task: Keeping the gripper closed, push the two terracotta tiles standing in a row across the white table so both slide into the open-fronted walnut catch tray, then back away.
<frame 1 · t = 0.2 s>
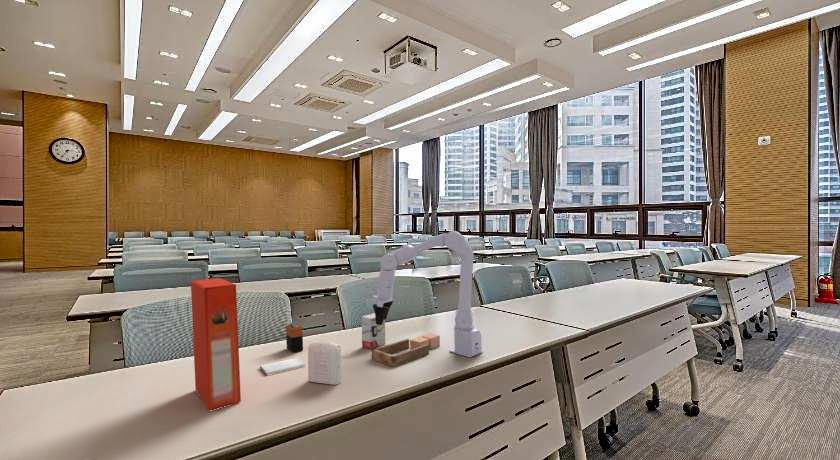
hand: (381, 321, 148), 11 cm above the table, tool pointing down, fingers open, 7 cm apart
tile front: (419, 350, 148), on the table
battery: (294, 350, 150), on the table
ink box: (373, 346, 154), on the table
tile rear: (430, 346, 152), on the table
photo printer: (325, 382, 120), on the table
catch tray: (402, 355, 141), on the table
file binder: (216, 397, 111), on the table
hard drive: (282, 369, 132), on the table
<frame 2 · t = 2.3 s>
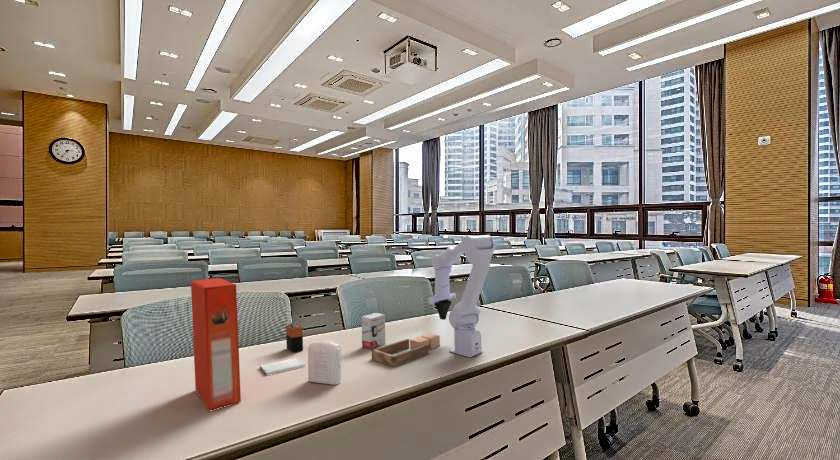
hand: (442, 319, 157), 9 cm above the table, tool pointing down, fingers closed
nothing on the table moved.
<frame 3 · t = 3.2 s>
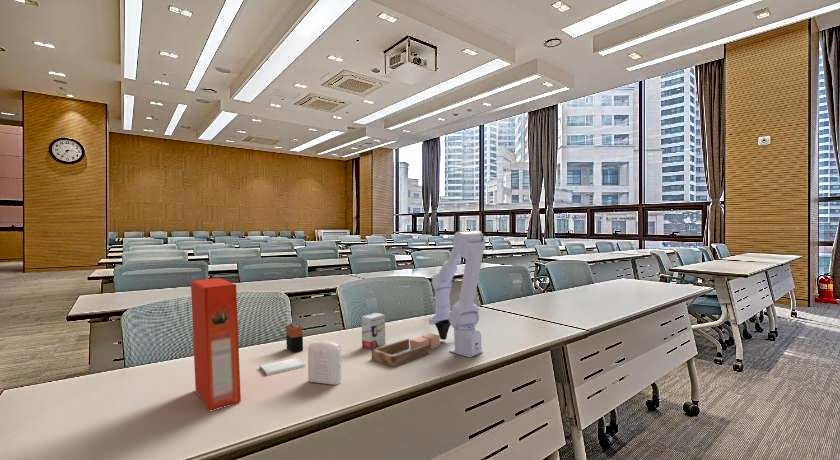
hand: (443, 339, 157), 1 cm above the table, tool pointing down, fingers closed
nothing on the table moved.
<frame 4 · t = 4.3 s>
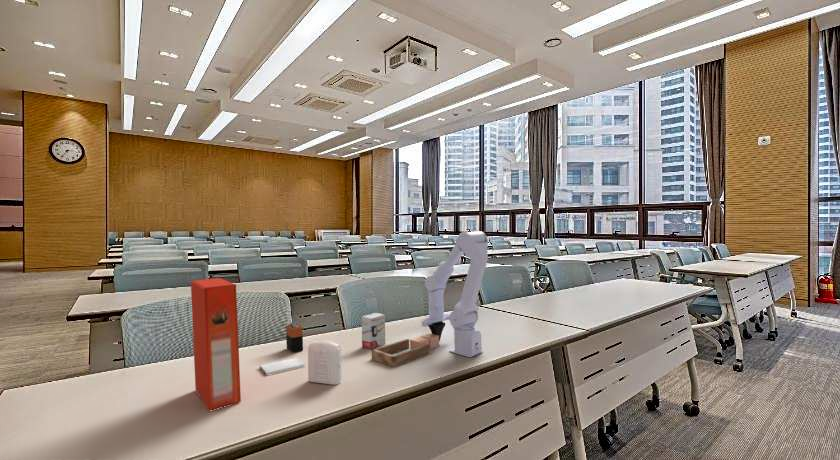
hand: (436, 341, 155), 1 cm above the table, tool pointing down, fingers closed
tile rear: (429, 346, 152), on the table, touching gripper
everything else where it was.
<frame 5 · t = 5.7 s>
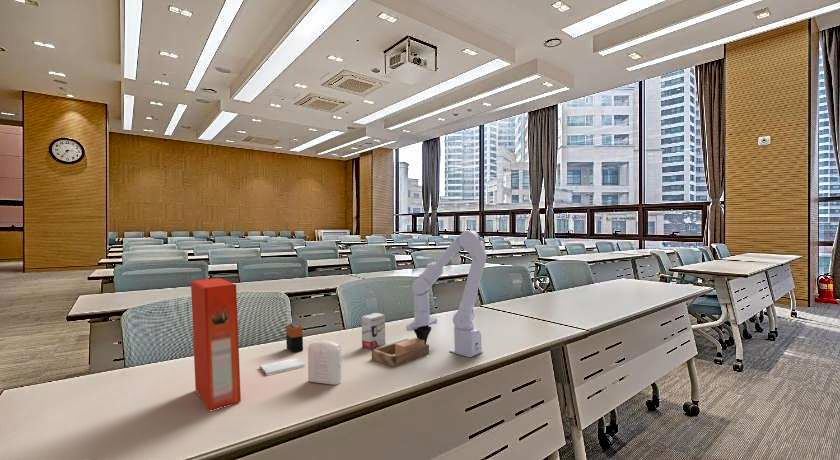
hand: (422, 346, 149), 1 cm above the table, tool pointing down, fingers closed
tile front: (405, 354, 142), resting in catch tray
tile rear: (415, 351, 146), resting in catch tray, touching gripper
everything else where it was.
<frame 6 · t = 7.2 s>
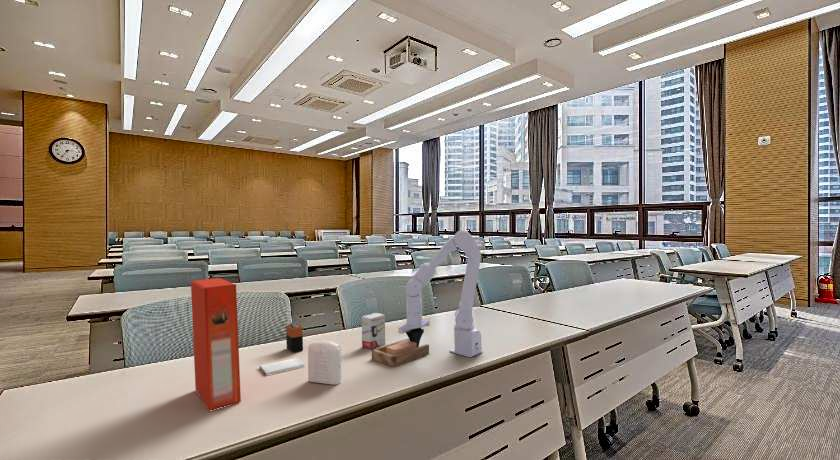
hand: (414, 348, 146), 1 cm above the table, tool pointing down, fingers closed
tile front: (396, 358, 139), resting in catch tray
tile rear: (407, 354, 143), resting in catch tray, touching gripper
everything else where it was.
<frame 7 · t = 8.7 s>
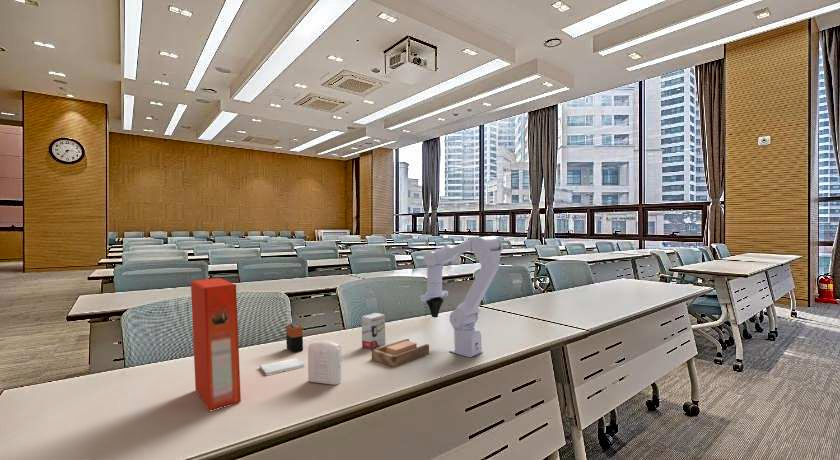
hand: (434, 316, 155), 10 cm above the table, tool pointing down, fingers closed
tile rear: (407, 354, 143), resting in catch tray
everything else where it was.
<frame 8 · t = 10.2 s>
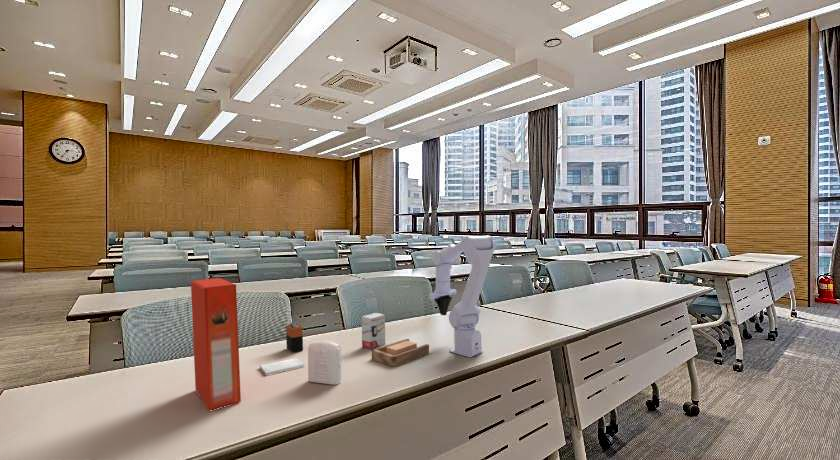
hand: (443, 314, 158), 10 cm above the table, tool pointing down, fingers closed
nothing on the table moved.
at the end: tile front inside the target area on the catch tray (1.9 cm from its centre), point 0.0 cm above the catch tray's base; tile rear inside the target area on the catch tray (3.2 cm from its centre), point 0.0 cm above the catch tray's base; tile front moved 11.6 cm from its start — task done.
